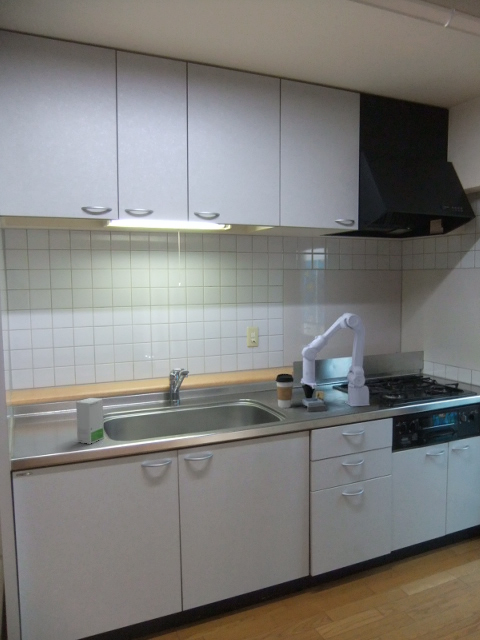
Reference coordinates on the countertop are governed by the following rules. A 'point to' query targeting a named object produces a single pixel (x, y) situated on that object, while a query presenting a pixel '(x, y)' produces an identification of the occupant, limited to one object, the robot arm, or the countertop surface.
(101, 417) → the skincare box
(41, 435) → the countertop surface
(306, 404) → the grey square tray
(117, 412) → the countertop surface
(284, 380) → the coffee cup
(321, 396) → the brass cylinder
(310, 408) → the stop
